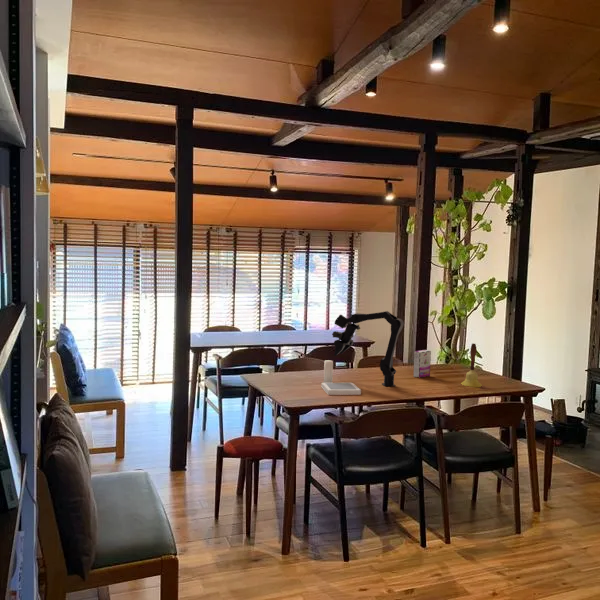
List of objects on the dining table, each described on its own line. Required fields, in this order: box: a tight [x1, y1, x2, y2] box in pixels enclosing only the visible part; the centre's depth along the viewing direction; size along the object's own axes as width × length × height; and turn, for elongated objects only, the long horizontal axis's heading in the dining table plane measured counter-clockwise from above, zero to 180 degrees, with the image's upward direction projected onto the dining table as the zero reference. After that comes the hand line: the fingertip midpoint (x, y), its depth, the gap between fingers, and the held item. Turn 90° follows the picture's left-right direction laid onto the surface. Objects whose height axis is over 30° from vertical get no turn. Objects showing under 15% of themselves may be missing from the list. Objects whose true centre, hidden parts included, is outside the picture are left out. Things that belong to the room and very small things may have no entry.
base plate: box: [320, 382, 362, 396], centre depth 309 cm, size 18×18×3 cm
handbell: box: [460, 343, 483, 388], centre depth 335 cm, size 12×12×25 cm
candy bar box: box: [413, 349, 432, 379], centre depth 356 cm, size 11×5×16 cm, turn 129°
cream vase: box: [323, 359, 334, 383], centre depth 326 cm, size 5×5×13 cm
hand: (337, 354), depth 340 cm, fingers open, 9 cm apart
